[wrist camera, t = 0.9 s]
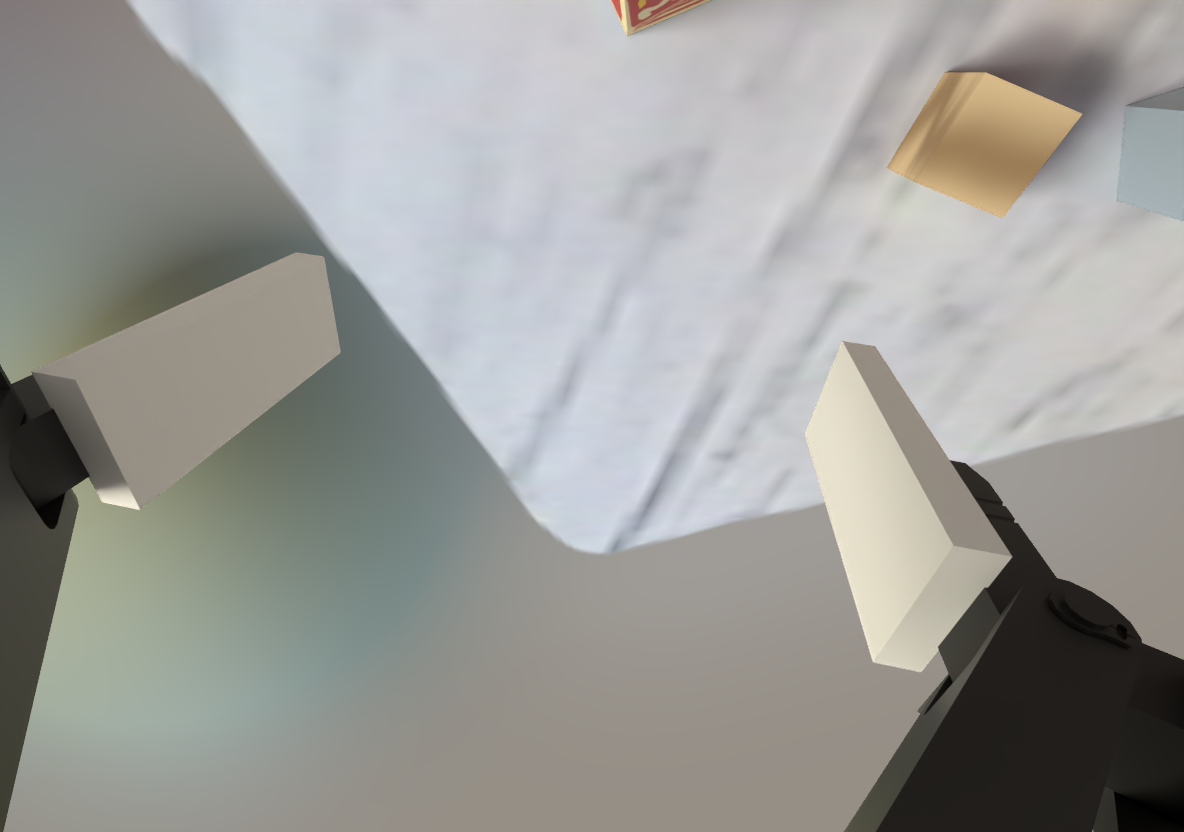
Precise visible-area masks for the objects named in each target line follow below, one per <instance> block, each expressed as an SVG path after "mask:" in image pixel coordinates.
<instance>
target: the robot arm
mask: <svg viewBox="0 0 1184 832" xmlns="http://www.w3.org/2000/svg"><path fill="white" fill-rule="evenodd" d="M339 353H340V346H339V340H338V334H337V329H336V323H335V317H334V311H333V306H332V300H331V294H330V288H329V283H328V277H327V271H326V265H325V261H324V257H321V256H315V255H309V254H302V253H297V252H296V253H294V254H292V255H289V256H287V257H285V258H283V259H281V260H278V261H276V262H274V263H272V264H269V265H267V266H265V267H263V268H261V269H258V270H256V271H254V272H252V273H249V274H247V275H245V276H243V277H240V278H238V279H236V280H234V281H231V282H229V283H227V284H225V285H223V286H220V287H218V288H216V289H214V290H211V291H209V292H207V293H205V294H203V295H201V296H198V297H196V298H194V299H191V300H190V301H187V302H185V303H183V304H180V305H178V306H176V307H174V308H171V309H169V310H167V311H165V312H162V313H160V314H158V315H156V316H154V317H151V318H149V319H147V320H145V321H142V322H140V323H138V324H136V325H133V326H132V327H129V328H127V329H125V330H122V331H120V332H118V333H116V334H114V335H111V336H109V337H107V338H105V339H102V340H100V341H98V342H96V343H93V344H91V345H89V346H87V347H84V348H82V349H80V350H78V351H76V352H73V353H71V354H69V355H67V356H65V357H62V358H60V359H58V360H56V361H53V362H51V363H49V364H47V365H45V366H42V367H41V368H38V369H36V370H33V371H31V372H32V374H33V375H31V376H28V377H26V378H24V379H22V380H20V381H17V382H15V383H13V384H11V383H10V381H9V380H8V378H7V376H6V374H5V372H4V371H3V369H2V367H1V365H0V832H3V830H4V826H5V822H6V817H7V813H8V808H9V804H10V800H11V796H12V791H13V787H14V783H15V778H16V774H17V770H18V765H19V761H20V757H21V753H22V748H23V744H24V739H25V735H26V731H27V726H28V722H29V718H30V713H31V709H32V705H33V700H34V696H35V692H36V687H37V683H38V679H39V675H40V670H41V666H42V662H43V658H44V653H45V649H46V644H47V640H48V636H49V632H50V627H51V623H52V619H53V614H54V610H55V606H56V601H57V597H58V593H59V588H60V584H61V580H62V575H63V571H64V567H65V562H66V558H67V554H68V550H69V545H70V541H71V537H72V532H73V528H74V524H75V519H76V515H77V511H78V500H77V497H76V495H75V494H74V492H73V490H72V489H71V488H72V487H74V486H75V485H77V484H78V483H80V482H81V481H83V480H84V479H86V478H87V477H89V479H90V481H91V482H92V484H93V486H94V488H95V490H96V492H97V493H98V495H99V497H100V499H101V500H102V502H105V503H109V504H114V505H119V506H124V507H128V508H133V509H138V510H141V509H142V508H143V507H145V506H146V505H147V504H148V503H150V502H151V501H152V500H153V499H155V498H156V497H157V496H159V495H160V494H161V493H163V492H164V491H165V490H166V489H168V488H169V487H170V486H171V485H173V484H174V483H175V482H176V481H178V480H179V479H180V478H181V477H183V476H184V475H185V474H187V473H188V472H189V471H190V470H192V469H193V468H194V467H196V466H197V465H198V464H199V463H201V462H202V461H203V460H204V459H206V458H207V457H208V456H210V455H211V454H212V453H213V452H215V451H216V450H217V449H218V448H220V447H221V446H222V445H223V444H225V443H226V442H227V441H229V440H230V439H231V438H232V437H234V436H235V435H236V434H238V433H239V432H240V431H241V430H242V429H244V428H245V427H246V426H248V425H249V424H250V423H252V422H253V421H254V420H255V419H257V418H258V417H259V416H260V415H262V414H263V413H264V412H266V411H267V410H268V409H269V408H271V407H272V406H273V405H274V404H276V403H277V402H278V401H280V400H281V399H282V398H283V397H285V396H286V395H287V394H288V393H290V392H291V391H292V390H293V389H295V388H296V387H297V386H299V385H300V384H301V383H302V382H304V381H305V380H306V379H307V378H309V377H310V376H311V375H313V374H314V373H315V372H316V371H318V370H319V369H320V368H321V367H323V366H324V365H325V364H327V363H328V362H329V361H330V360H332V359H333V358H334V357H335V356H337V355H338V354H339ZM805 437H806V440H807V444H808V447H809V450H810V454H811V457H812V460H813V464H814V467H815V470H816V474H817V477H818V480H819V484H820V487H821V490H822V494H823V497H824V500H825V504H826V507H827V510H828V513H829V517H830V520H831V524H832V527H833V530H834V533H835V537H836V540H837V544H838V547H839V550H840V554H841V557H842V560H843V564H844V567H845V570H846V574H847V577H848V580H849V584H850V587H851V590H852V593H853V597H854V601H855V604H856V607H857V610H858V614H859V617H860V621H861V624H862V627H863V630H864V634H865V637H866V640H867V644H868V647H869V651H870V654H871V657H872V661H873V662H875V663H879V664H884V665H888V666H893V667H898V668H903V669H908V670H913V671H918V672H922V671H923V669H924V668H925V667H926V665H927V664H928V663H929V662H930V660H931V659H932V658H933V657H934V655H935V654H936V653H937V651H938V650H939V651H940V654H941V656H942V658H943V661H944V663H945V665H946V668H947V670H948V673H949V674H948V675H947V676H946V677H945V679H944V680H943V681H942V682H941V683H940V685H939V686H938V687H937V688H936V690H935V691H934V692H933V693H932V694H931V695H930V696H929V698H928V699H927V700H926V701H925V702H924V704H923V705H922V706H921V707H920V708H919V709H918V712H919V713H920V715H919V717H918V718H917V720H916V722H915V723H914V725H913V726H912V728H911V729H910V731H909V732H908V734H907V735H906V737H905V738H904V740H903V742H902V743H901V745H900V746H899V748H898V749H897V751H896V752H895V754H894V756H893V757H892V759H891V760H890V762H889V763H888V765H887V766H886V768H885V769H884V771H883V773H882V774H881V776H880V777H879V779H878V780H877V782H876V783H875V785H874V786H873V788H872V789H871V791H870V793H869V794H868V796H867V797H866V799H865V800H864V802H863V804H862V805H861V806H860V808H859V810H858V811H857V813H856V814H855V816H854V817H853V819H852V820H851V822H850V823H849V825H848V827H847V828H846V830H845V831H844V832H1092V830H1094V832H1184V660H1182V659H1180V658H1178V657H1175V656H1173V655H1170V654H1168V653H1165V652H1163V651H1160V650H1158V649H1155V648H1153V647H1151V646H1148V645H1145V644H1143V643H1142V640H1141V637H1140V636H1139V635H1138V633H1137V631H1136V630H1135V629H1134V627H1133V626H1132V624H1131V622H1130V621H1128V620H1127V619H1126V618H1125V617H1124V616H1123V615H1122V614H1121V613H1120V612H1119V611H1118V610H1117V609H1115V608H1114V607H1113V606H1112V605H1111V604H1109V603H1108V602H1106V601H1105V600H1103V599H1102V598H1100V597H1098V596H1097V595H1096V594H1094V593H1093V592H1091V591H1089V590H1087V589H1085V588H1082V587H1080V586H1078V585H1076V584H1074V583H1072V582H1070V581H1066V580H1062V579H1058V578H1056V576H1055V575H1054V573H1053V572H1052V571H1051V569H1050V568H1049V566H1048V565H1047V564H1046V562H1045V561H1044V559H1043V558H1042V557H1041V555H1040V554H1039V552H1038V551H1037V549H1036V548H1035V547H1034V545H1033V544H1032V542H1031V541H1030V540H1029V538H1028V537H1027V535H1026V534H1025V533H1024V531H1023V530H1022V528H1021V527H1020V526H1019V524H1018V523H1014V520H1015V519H1014V517H1013V516H1012V514H1011V513H1010V512H1009V510H1008V509H1007V508H1006V506H1002V503H1003V502H1002V500H1001V499H1000V498H999V496H998V495H997V493H996V492H995V491H994V489H993V488H992V486H991V485H990V484H989V482H988V481H986V480H985V479H984V478H983V477H981V476H980V475H979V474H978V473H977V472H975V471H974V470H973V469H972V468H970V467H969V466H968V465H967V464H966V463H962V462H956V461H950V460H949V459H948V457H947V456H946V454H945V453H944V451H943V450H942V448H941V447H940V445H939V443H938V442H937V440H936V439H935V437H934V436H933V434H932V433H931V431H930V430H929V428H928V427H927V425H926V424H925V422H924V421H923V419H922V417H921V416H920V414H919V413H918V411H917V410H916V408H915V407H914V405H913V404H912V402H911V401H910V399H909V398H908V396H907V394H906V393H905V391H904V390H903V388H902V387H901V385H900V384H899V382H898V381H897V379H896V378H895V376H894V375H893V373H892V371H891V370H890V368H889V367H888V365H887V364H886V362H885V361H884V359H883V358H882V356H881V355H880V353H879V352H878V350H877V348H876V347H875V346H870V345H863V344H857V343H851V342H845V341H842V343H841V346H840V348H839V351H838V353H837V356H836V358H835V360H834V363H833V365H832V368H831V370H830V373H829V375H828V378H827V380H826V383H825V385H824V388H823V390H822V393H821V395H820V398H819V400H818V403H817V405H816V408H815V410H814V413H813V415H812V418H811V420H810V423H809V425H808V428H807V430H806V433H805Z"/></svg>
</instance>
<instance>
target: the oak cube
mask: <svg viewBox="0 0 1184 832" xmlns="http://www.w3.org/2000/svg"><path fill="white" fill-rule="evenodd" d="M1081 115H1082V113H1080V112H1077V111H1075V110H1073V109H1070V108H1068V107H1066V106H1063V105H1061V104H1059V103H1056V102H1054V101H1052V100H1049V99H1047V98H1045V97H1042V96H1040V95H1038V94H1035V93H1033V92H1031V91H1028V90H1026V89H1024V88H1021V87H1019V86H1017V85H1014V84H1012V83H1010V82H1007V81H1005V80H1003V79H1000V78H998V77H996V76H993V75H991V74H989V73H986V72H947V73H944V75H943V77H942V78H941V80H940V81H939V83H938V85H937V86H936V88H935V90H934V91H933V93H932V95H931V96H930V98H929V99H928V101H927V103H926V104H925V106H924V108H923V109H922V111H921V112H920V114H919V116H918V117H917V119H916V121H915V122H914V124H913V126H912V127H911V129H910V130H909V132H908V134H907V135H906V137H905V139H904V140H903V142H902V144H901V145H900V147H899V148H898V150H897V152H896V153H895V155H894V157H893V158H892V160H891V162H890V163H889V165H888V166H887V168H888V169H890V170H892V171H894V172H896V173H898V174H900V175H902V176H904V177H906V178H908V179H910V180H912V181H914V182H916V183H919V184H921V185H924V186H926V187H928V188H931V189H933V190H936V191H938V192H940V193H943V194H945V195H948V196H950V197H953V198H955V199H957V200H960V201H962V202H965V203H967V204H969V205H972V206H974V207H977V208H979V209H981V210H984V211H986V212H989V213H991V214H993V215H996V216H998V217H1001V218H1003V217H1004V216H1005V214H1006V213H1007V212H1008V210H1009V209H1010V208H1011V207H1012V205H1013V204H1014V203H1015V201H1016V200H1017V199H1018V197H1019V196H1020V195H1021V193H1022V192H1023V191H1024V190H1025V188H1026V187H1027V186H1028V184H1029V183H1030V182H1031V180H1032V179H1033V178H1034V177H1035V175H1036V174H1037V173H1038V171H1039V170H1040V169H1041V167H1042V166H1043V165H1044V164H1045V162H1046V161H1047V160H1048V158H1049V157H1050V156H1051V154H1052V153H1053V152H1054V150H1055V149H1056V148H1057V147H1058V145H1059V144H1060V143H1061V141H1062V140H1063V139H1064V137H1065V136H1066V135H1067V134H1068V132H1069V131H1070V130H1071V128H1072V127H1073V126H1074V124H1075V123H1076V122H1077V121H1078V119H1079V118H1080V117H1081Z"/></svg>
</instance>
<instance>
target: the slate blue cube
mask: <svg viewBox="0 0 1184 832" xmlns="http://www.w3.org/2000/svg"><path fill="white" fill-rule="evenodd" d="M1117 201H1120V202H1123V203H1126V204H1129V205H1132V206H1136V207H1139V208H1142V209H1145V210H1149V211H1152V212H1155V213H1158V214H1161V215H1165V216H1168V217H1171V218H1174V219H1178V220H1181V221H1182V220H1184V87H1182V88H1179V89H1176V90H1173V91H1170V92H1167V93H1164V94H1161V95H1158V96H1155V97H1152V98H1149V99H1146V100H1142V101H1139V102H1136V103H1133V104H1130V105H1127V106H1125V115H1124V126H1123V137H1122V147H1121V158H1120V169H1119V179H1118V190H1117Z"/></svg>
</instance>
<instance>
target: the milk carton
mask: <svg viewBox="0 0 1184 832" xmlns="http://www.w3.org/2000/svg"><path fill="white" fill-rule="evenodd" d="M709 1H711V0H611V2H612V4H613V6H614V8H615V11H616V13H617V15H618V17H619V19H620V22H621V24H622V26H623V28H624V31H625V33H626V35H627V36H628V35H631V34H633V33H636V32H638V31H640V30H643V29H645V28H647V27H650V26H652V25H654V24H657V23H659V22H661V21H664V20H666V19H669V18H671V17H673V16H676V15H678V14H680V13H683V12H685V11H687V10H690V9H692V8H695V7H697V6H699V5H702V4H704V3H706V2H709Z"/></svg>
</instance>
